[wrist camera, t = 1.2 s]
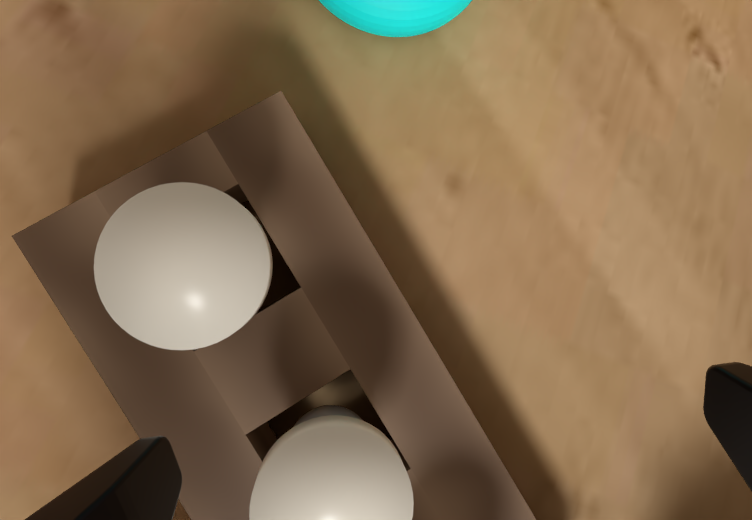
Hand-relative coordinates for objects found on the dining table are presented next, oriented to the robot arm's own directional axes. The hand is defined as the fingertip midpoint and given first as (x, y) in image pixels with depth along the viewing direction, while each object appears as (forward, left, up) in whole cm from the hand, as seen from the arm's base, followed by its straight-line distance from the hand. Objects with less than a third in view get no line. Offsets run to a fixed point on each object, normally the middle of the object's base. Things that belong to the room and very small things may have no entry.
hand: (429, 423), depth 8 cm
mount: (-4, -4, -16) cm, 17 cm away
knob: (-4, +5, -13) cm, 14 cm away
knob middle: (-4, -4, -13) cm, 14 cm away
